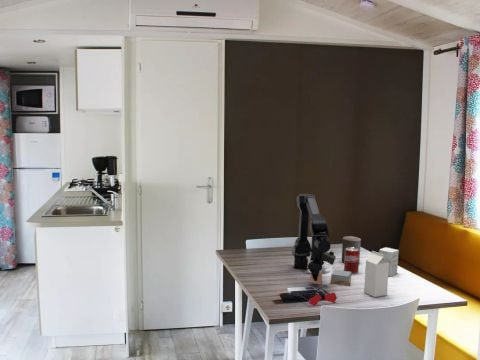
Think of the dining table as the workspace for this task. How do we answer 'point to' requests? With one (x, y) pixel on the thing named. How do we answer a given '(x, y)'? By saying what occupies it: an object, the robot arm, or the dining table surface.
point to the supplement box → (391, 259)
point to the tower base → (341, 282)
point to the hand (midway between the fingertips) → (316, 279)
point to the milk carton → (376, 275)
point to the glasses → (317, 298)
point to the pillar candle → (350, 245)
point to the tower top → (341, 275)
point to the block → (317, 278)
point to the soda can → (351, 260)
